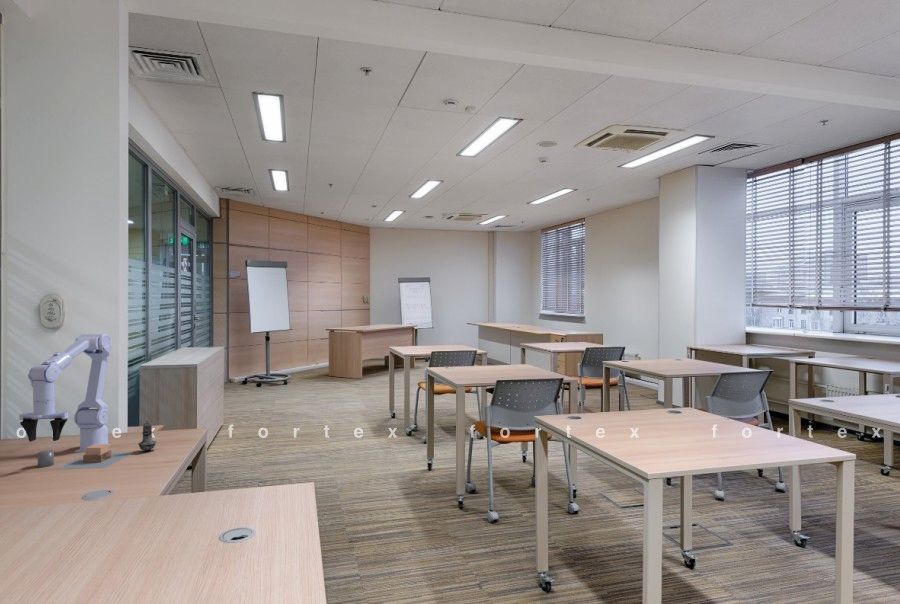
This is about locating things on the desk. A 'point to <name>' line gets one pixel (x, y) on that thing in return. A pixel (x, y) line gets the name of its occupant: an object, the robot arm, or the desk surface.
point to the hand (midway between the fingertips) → (44, 440)
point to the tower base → (96, 457)
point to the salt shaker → (147, 439)
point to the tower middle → (97, 449)
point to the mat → (79, 463)
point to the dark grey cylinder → (45, 458)
